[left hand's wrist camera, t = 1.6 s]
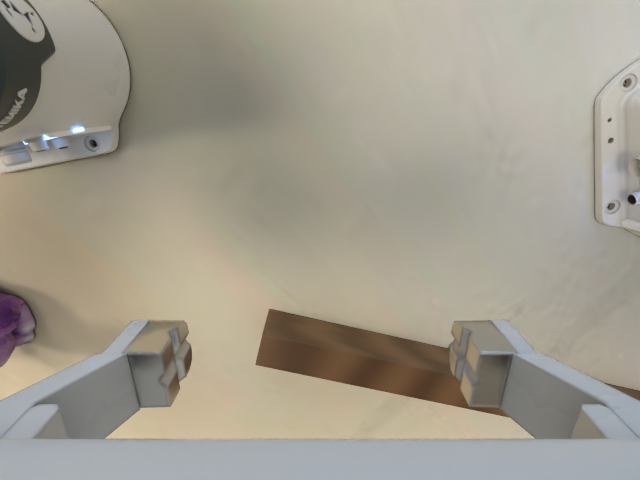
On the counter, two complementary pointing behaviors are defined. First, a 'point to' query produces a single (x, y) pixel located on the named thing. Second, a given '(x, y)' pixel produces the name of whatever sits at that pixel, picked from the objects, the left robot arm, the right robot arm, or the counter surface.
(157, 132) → the counter surface
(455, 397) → the beam
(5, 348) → the figurine
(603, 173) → the right robot arm
